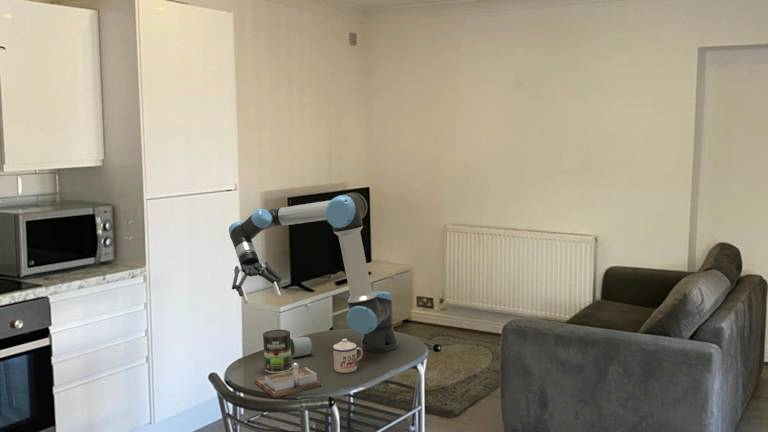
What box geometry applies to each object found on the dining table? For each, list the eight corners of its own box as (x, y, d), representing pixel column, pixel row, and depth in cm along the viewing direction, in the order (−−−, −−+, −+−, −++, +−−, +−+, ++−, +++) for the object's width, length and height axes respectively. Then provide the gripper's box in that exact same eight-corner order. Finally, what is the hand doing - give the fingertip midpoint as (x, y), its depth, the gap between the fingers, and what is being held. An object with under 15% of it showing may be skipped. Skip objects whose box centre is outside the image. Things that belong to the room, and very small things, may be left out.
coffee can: (291, 372, 287) (289, 336, 286) (263, 374, 287) (261, 337, 285) (293, 363, 298) (291, 328, 296) (266, 365, 297) (264, 329, 295)
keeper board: (254, 382, 278) (254, 378, 278) (300, 372, 287) (300, 368, 287) (273, 397, 263) (273, 393, 263) (321, 386, 272) (321, 382, 272)
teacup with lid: (341, 375, 283) (339, 344, 281) (329, 368, 290) (328, 338, 289) (369, 368, 289) (367, 338, 287) (357, 362, 297) (355, 332, 295)
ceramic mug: (314, 356, 306) (313, 337, 305) (295, 359, 302) (293, 340, 302) (304, 349, 316) (303, 331, 315) (285, 353, 312) (284, 334, 311)
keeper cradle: (265, 384, 272) (263, 360, 270) (306, 375, 280) (305, 352, 278) (276, 392, 263) (275, 368, 262) (318, 383, 271) (317, 359, 270)
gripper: (273, 257, 318) (290, 300, 307) (215, 265, 306) (230, 309, 295) (278, 246, 313) (295, 289, 302) (219, 254, 300) (234, 299, 289)
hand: (263, 299), depth 298 cm, fingers open, 13 cm apart
